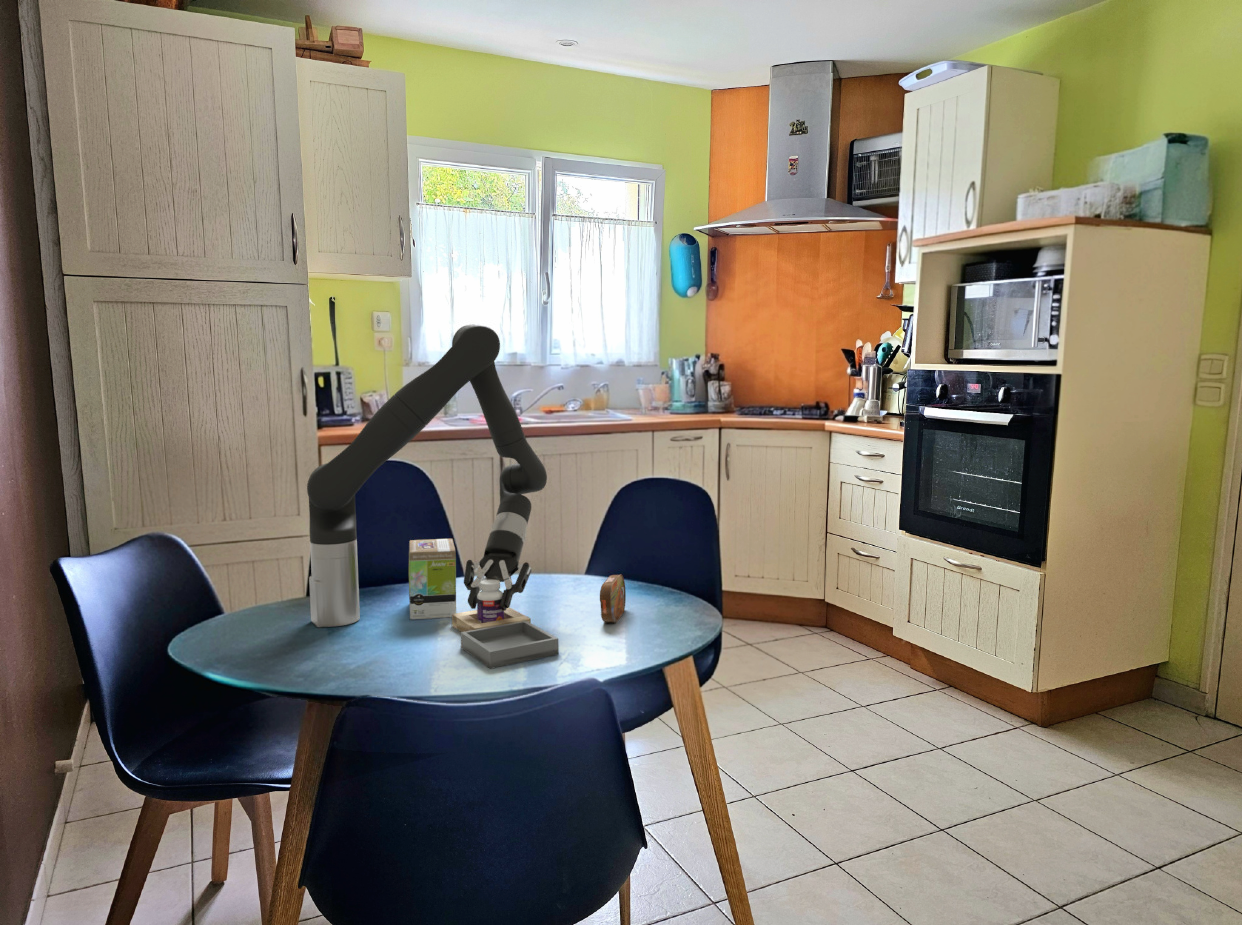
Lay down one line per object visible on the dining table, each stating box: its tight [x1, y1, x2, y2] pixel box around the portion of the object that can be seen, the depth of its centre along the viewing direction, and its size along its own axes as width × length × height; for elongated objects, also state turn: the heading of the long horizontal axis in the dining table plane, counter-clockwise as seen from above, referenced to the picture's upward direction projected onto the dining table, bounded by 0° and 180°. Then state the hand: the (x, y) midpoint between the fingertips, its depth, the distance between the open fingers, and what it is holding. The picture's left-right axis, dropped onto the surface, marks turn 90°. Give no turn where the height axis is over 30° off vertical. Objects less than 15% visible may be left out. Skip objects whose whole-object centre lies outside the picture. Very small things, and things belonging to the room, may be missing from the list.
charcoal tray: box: [460, 621, 560, 670], centre depth 153 cm, size 14×14×3 cm
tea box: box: [408, 538, 457, 620], centre depth 181 cm, size 15×10×15 cm, turn 14°
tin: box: [599, 574, 627, 624], centre depth 175 cm, size 15×3×8 cm, turn 168°
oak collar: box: [451, 606, 532, 633], centre depth 167 cm, size 12×12×2 cm
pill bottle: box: [476, 580, 504, 623], centre depth 167 cm, size 5×5×10 cm
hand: (487, 607), depth 165 cm, fingers open, 6 cm apart
